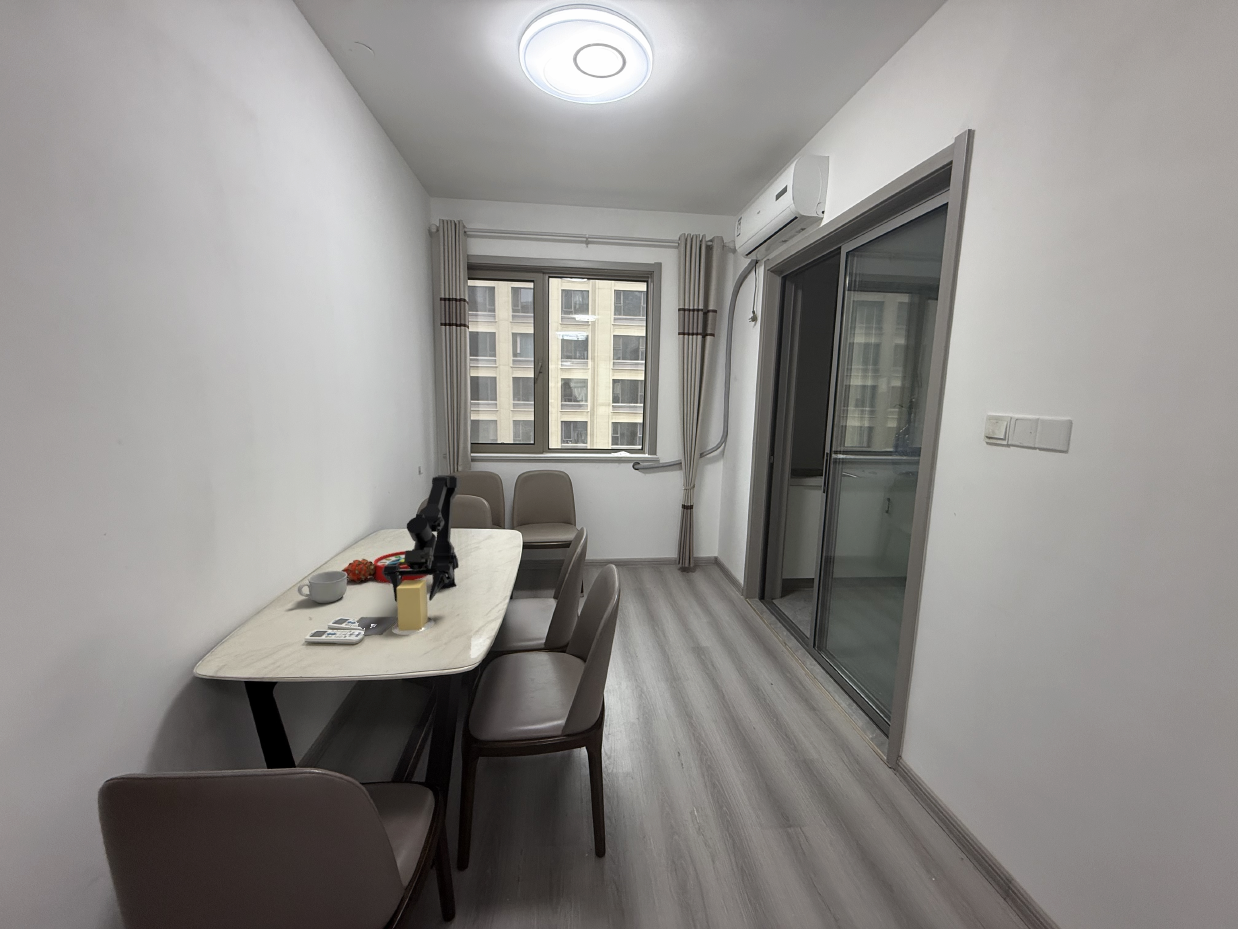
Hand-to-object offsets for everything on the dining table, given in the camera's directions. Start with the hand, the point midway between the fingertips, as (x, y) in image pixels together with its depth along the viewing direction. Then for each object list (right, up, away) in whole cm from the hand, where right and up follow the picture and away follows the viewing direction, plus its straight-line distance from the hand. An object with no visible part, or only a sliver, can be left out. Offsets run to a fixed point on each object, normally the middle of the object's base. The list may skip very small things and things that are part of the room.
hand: (413, 600), depth 134 cm
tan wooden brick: (0, -7, 0) cm, 7 cm away
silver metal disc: (0, -7, 0) cm, 7 cm away
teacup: (-37, -6, +20) cm, 42 cm away
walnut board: (-6, -8, 0) cm, 10 cm away
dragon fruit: (-35, -4, +37) cm, 51 cm away
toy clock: (-23, -3, +46) cm, 51 cm away
